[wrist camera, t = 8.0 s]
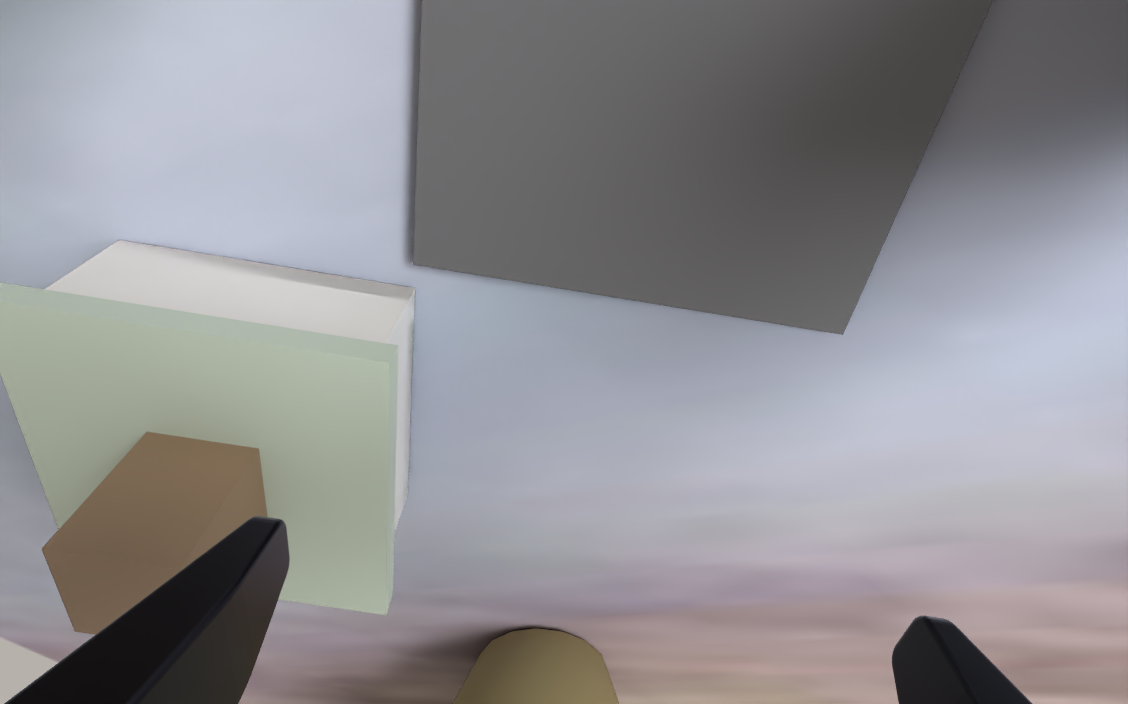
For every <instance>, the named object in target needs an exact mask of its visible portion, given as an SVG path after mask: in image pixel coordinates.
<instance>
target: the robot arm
mask: <svg viewBox="0 0 1128 704" xmlns="http://www.w3.org/2000/svg"><path fill="white" fill-rule="evenodd" d="M289 562H290V555H289V546H288V537H287V527H286V524H285V522H284V521H283V520H281V519H277V518H271V517H264V516H255V517H252V518H250V519H249V520H247V521H246V522H244V523H243V524H242V525H240V526H239V527H238V528H236V529H235V530H234V531H232V532H231V533H230V534H229V535H227V536H226V537H225V538H223V539H222V540H221V541H219V542H218V543H217V544H215V545H214V546H213V547H211V548H210V549H209V550H207V551H206V552H205V553H203V554H202V555H201V556H199V557H198V558H197V559H195V560H194V561H193V562H191V563H190V564H189V565H187V566H186V567H185V568H183V569H182V570H181V571H179V572H178V573H177V574H176V575H174V576H173V577H172V578H170V579H169V580H168V581H166V582H165V583H164V584H162V585H161V586H160V587H158V588H157V589H156V590H154V591H153V592H152V593H150V594H149V595H148V596H146V597H145V598H144V599H142V600H141V601H140V602H138V603H137V604H136V605H134V606H133V607H132V608H130V609H129V610H128V611H126V612H125V613H124V614H122V615H121V616H120V617H119V618H117V619H116V620H115V621H113V622H112V623H111V624H109V625H108V626H107V627H105V628H104V629H103V630H101V631H100V632H99V633H97V634H96V635H95V636H93V637H92V638H91V639H89V640H88V641H87V642H85V643H84V644H83V645H81V646H80V647H79V648H77V649H76V650H75V651H73V652H72V653H71V654H69V655H68V656H67V657H66V658H64V659H63V660H62V661H60V662H59V663H58V664H56V665H55V666H54V667H52V668H51V669H50V670H49V671H47V672H46V673H44V674H43V675H42V676H40V677H39V678H38V679H36V680H35V681H34V682H32V683H31V684H30V685H28V686H27V687H26V688H24V689H23V690H22V691H20V692H19V693H18V694H17V695H15V696H14V697H12V698H11V699H10V700H9V701H7V702H6V703H5V704H238V703H239V701H240V699H241V696H242V694H243V692H244V690H245V688H246V685H247V683H248V681H249V678H250V676H251V673H252V670H253V668H254V665H255V662H256V660H257V657H258V654H259V651H260V648H261V646H262V643H263V640H264V637H265V635H266V632H267V629H268V626H269V623H270V621H271V618H272V615H273V612H274V609H275V607H276V604H277V601H278V598H279V596H280V593H281V590H282V587H283V584H284V582H285V579H286V576H287V573H288V569H289ZM892 666H893V672H894V678H895V684H896V690H897V695H898V701H899V704H1032V703H1031V702H1030V701H1029V700H1028V699H1027V698H1026V697H1025V696H1024V695H1023V694H1022V693H1021V692H1020V691H1019V690H1018V689H1017V688H1016V687H1015V686H1014V684H1013V683H1012V682H1011V681H1010V680H1009V679H1008V678H1007V677H1006V676H1005V675H1004V674H1003V673H1002V672H1001V671H1000V670H999V669H998V668H997V667H996V666H995V665H994V664H993V663H992V662H991V661H990V660H989V659H988V658H987V657H986V656H985V655H984V654H983V653H982V652H981V651H980V650H979V649H978V648H977V647H976V646H975V645H974V644H973V643H972V642H971V641H970V640H969V639H968V638H967V637H966V636H965V635H964V634H963V633H962V632H961V631H960V630H959V629H958V628H957V627H956V626H955V625H954V624H953V623H952V622H950V621H949V620H946V619H943V618H936V617H930V616H919V617H917V618H915V619H914V620H913V622H912V623H911V625H910V626H909V627H908V629H907V630H906V632H905V633H904V634H903V636H902V637H901V639H900V640H899V641H898V643H897V644H896V646H895V648H894V651H893V655H892Z"/></svg>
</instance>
